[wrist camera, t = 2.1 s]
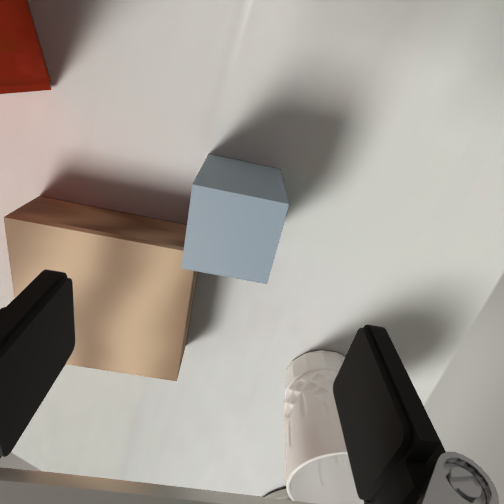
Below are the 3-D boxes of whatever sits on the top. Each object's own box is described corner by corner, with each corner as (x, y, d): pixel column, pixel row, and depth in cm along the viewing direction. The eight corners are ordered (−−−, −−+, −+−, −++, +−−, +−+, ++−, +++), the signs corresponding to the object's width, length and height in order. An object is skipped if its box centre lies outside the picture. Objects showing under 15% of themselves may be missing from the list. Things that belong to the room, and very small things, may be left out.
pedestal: (204, 228, 26) (196, 253, 23) (185, 346, 32) (176, 381, 28) (39, 196, 25) (3, 217, 21) (49, 324, 30) (22, 357, 27)
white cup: (356, 402, 35) (390, 515, 26) (278, 404, 35) (285, 516, 26) (365, 343, 31) (408, 451, 22) (278, 345, 31) (287, 453, 23)
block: (280, 169, 24) (289, 204, 18) (264, 233, 26) (266, 284, 20) (208, 153, 24) (192, 184, 17) (198, 220, 26) (181, 268, 20)
